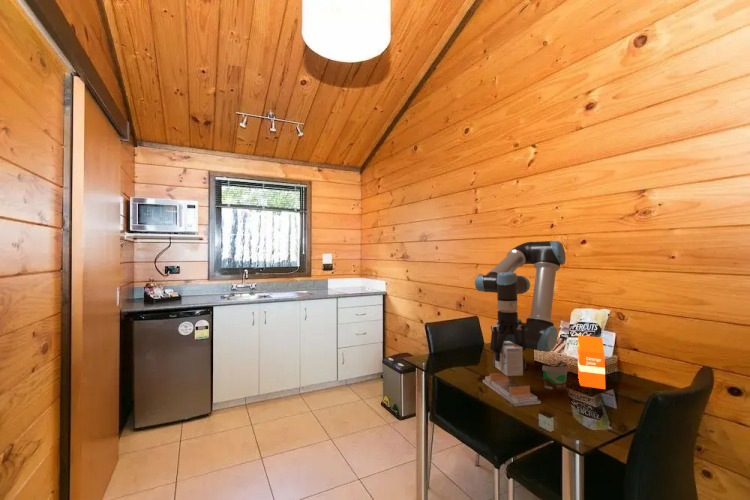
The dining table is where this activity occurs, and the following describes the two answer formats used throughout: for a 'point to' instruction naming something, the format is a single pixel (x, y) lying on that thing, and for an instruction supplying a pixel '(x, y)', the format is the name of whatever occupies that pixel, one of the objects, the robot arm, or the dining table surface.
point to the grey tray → (511, 390)
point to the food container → (555, 376)
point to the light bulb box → (511, 359)
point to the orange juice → (591, 362)
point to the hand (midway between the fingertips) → (508, 368)
